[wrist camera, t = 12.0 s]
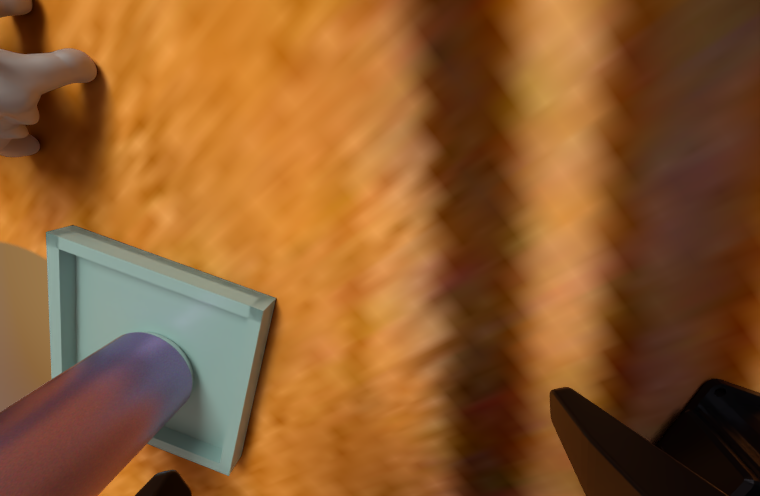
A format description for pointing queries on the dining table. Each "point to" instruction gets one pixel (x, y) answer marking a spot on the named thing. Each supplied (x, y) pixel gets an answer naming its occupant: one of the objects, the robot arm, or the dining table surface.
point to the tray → (163, 332)
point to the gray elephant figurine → (32, 85)
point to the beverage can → (92, 417)
